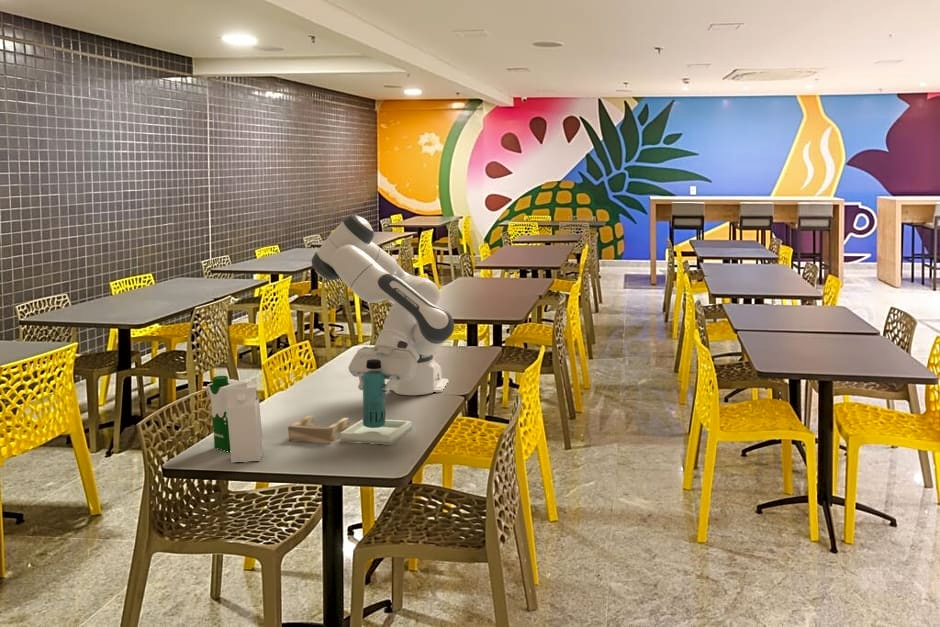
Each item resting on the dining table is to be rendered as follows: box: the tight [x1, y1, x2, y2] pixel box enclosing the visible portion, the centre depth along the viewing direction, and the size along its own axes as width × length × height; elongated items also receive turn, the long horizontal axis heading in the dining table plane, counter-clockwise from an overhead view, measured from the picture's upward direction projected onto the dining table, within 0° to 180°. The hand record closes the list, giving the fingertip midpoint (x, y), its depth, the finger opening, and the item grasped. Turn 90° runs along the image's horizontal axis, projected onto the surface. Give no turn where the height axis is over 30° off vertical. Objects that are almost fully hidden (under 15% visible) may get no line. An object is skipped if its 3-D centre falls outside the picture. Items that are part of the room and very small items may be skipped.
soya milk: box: [206, 375, 248, 453], centre depth 238 cm, size 9×9×20 cm
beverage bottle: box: [362, 359, 387, 428], centre depth 243 cm, size 6×7×20 cm
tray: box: [339, 418, 413, 446], centre depth 245 cm, size 15×15×2 cm
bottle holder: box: [287, 415, 350, 444], centre depth 246 cm, size 12×13×4 cm
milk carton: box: [227, 386, 264, 463], centre depth 228 cm, size 7×7×19 cm
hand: (373, 390), depth 242 cm, fingers closed on beverage bottle, 6 cm apart
